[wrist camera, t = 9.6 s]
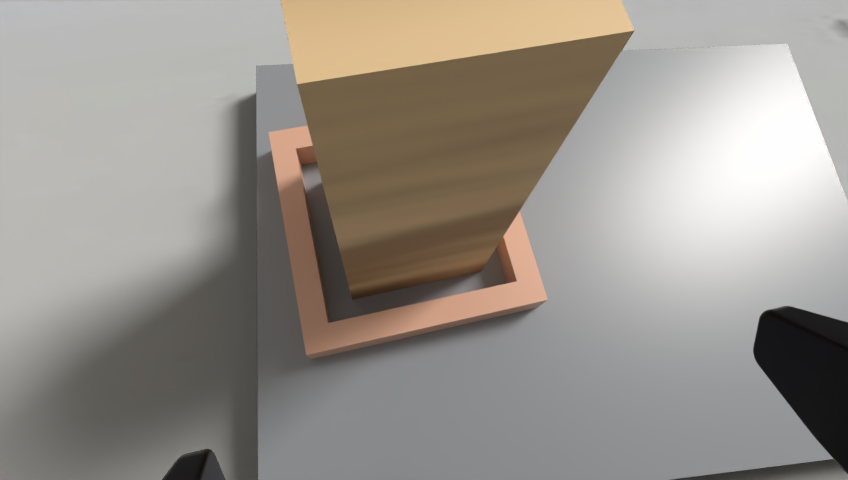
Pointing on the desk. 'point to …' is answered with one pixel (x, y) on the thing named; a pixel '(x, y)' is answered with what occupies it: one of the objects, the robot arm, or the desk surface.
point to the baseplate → (581, 296)
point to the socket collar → (398, 322)
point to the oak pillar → (440, 119)
